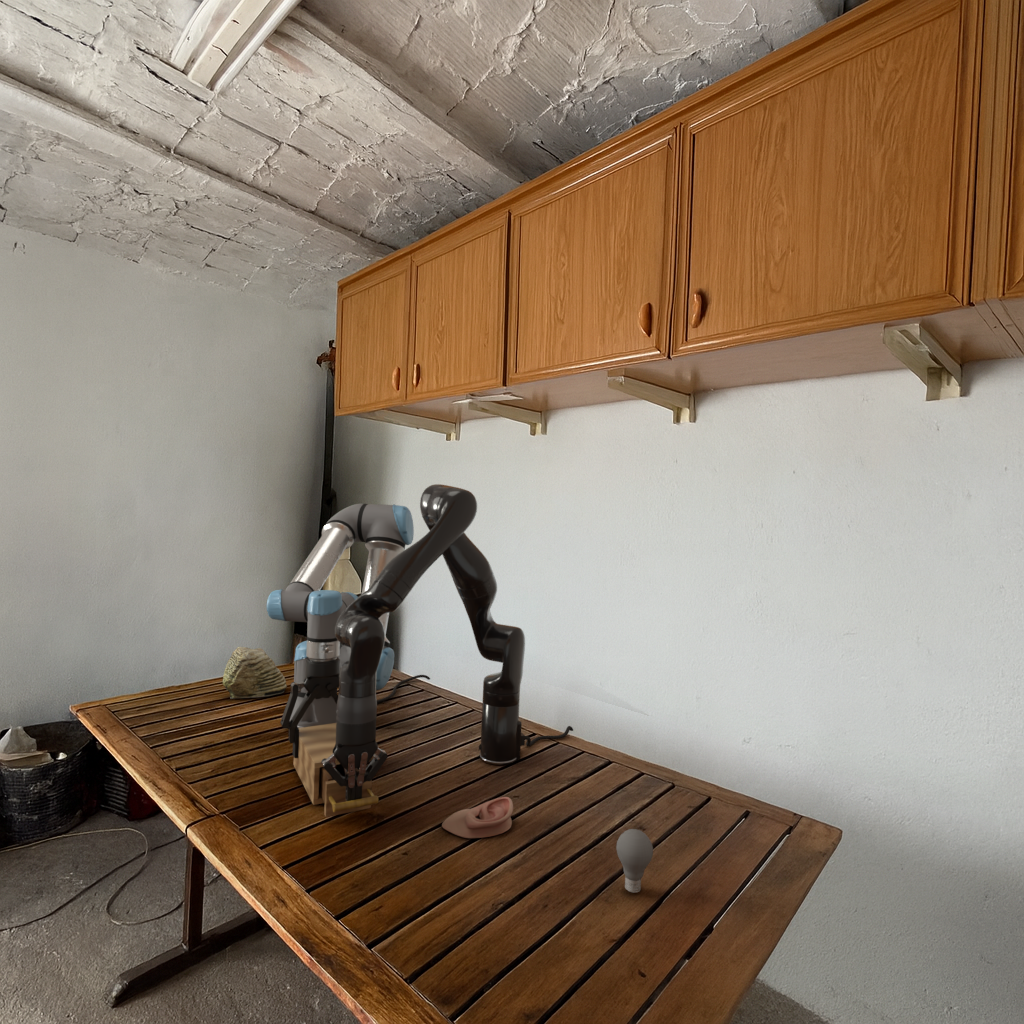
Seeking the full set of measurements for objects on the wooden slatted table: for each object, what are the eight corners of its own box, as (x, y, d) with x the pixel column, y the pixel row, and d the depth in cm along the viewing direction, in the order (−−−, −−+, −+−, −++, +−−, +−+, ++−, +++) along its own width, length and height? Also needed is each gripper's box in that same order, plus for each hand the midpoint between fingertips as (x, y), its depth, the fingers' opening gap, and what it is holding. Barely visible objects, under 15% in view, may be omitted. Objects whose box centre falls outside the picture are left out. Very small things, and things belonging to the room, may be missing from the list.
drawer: (379, 820, 123) (380, 786, 123) (332, 830, 118) (333, 795, 118) (344, 769, 145) (345, 740, 145) (304, 776, 141) (305, 746, 141)
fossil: (218, 695, 195) (220, 647, 195) (278, 685, 208) (279, 640, 207) (228, 703, 189) (230, 653, 188) (289, 692, 201) (290, 645, 201)
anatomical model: (437, 813, 121) (454, 787, 132) (436, 833, 121) (454, 805, 132) (505, 823, 118) (517, 795, 129) (504, 844, 118) (516, 815, 129)
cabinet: (362, 795, 135) (363, 755, 135) (313, 805, 130) (314, 763, 130) (337, 757, 154) (338, 722, 154) (293, 764, 149) (294, 728, 149)
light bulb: (610, 879, 108) (613, 822, 108) (644, 879, 109) (647, 822, 109) (619, 902, 102) (622, 840, 102) (655, 901, 103) (658, 840, 103)
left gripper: (274, 666, 139) (270, 766, 139) (375, 657, 150) (372, 750, 150) (268, 658, 145) (265, 754, 145) (366, 650, 156) (363, 739, 157)
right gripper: (326, 727, 116) (323, 820, 116) (395, 717, 122) (392, 805, 123) (317, 713, 122) (314, 801, 123) (383, 704, 129) (380, 788, 129)
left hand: (319, 752), depth 148 cm, fingers closed on cabinet, 10 cm apart
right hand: (353, 803), depth 123 cm, fingers closed
